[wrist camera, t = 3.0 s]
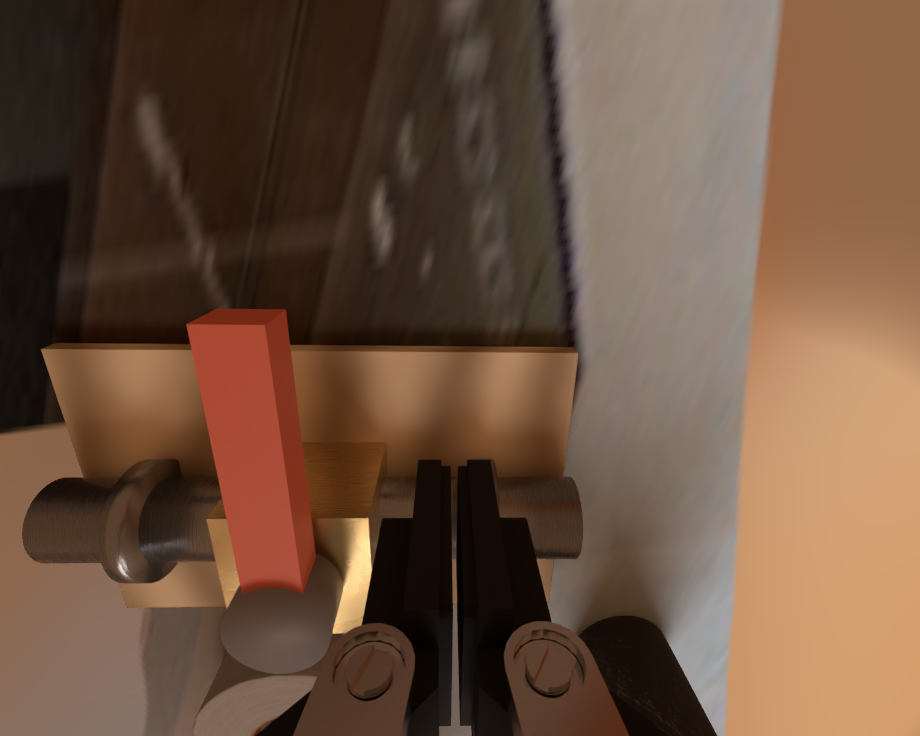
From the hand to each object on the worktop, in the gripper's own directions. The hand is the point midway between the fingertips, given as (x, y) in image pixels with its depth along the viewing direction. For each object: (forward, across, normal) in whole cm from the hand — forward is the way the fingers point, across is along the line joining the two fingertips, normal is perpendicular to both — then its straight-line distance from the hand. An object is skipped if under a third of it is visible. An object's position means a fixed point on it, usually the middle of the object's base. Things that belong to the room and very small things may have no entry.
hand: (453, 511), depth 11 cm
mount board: (+15, +7, +10) cm, 20 cm away
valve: (+15, +7, +10) cm, 20 cm away
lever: (+7, +7, +5) cm, 11 cm away
